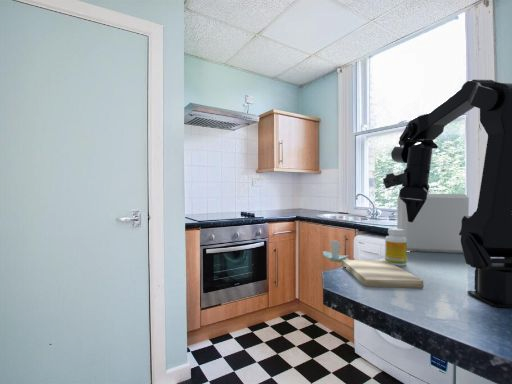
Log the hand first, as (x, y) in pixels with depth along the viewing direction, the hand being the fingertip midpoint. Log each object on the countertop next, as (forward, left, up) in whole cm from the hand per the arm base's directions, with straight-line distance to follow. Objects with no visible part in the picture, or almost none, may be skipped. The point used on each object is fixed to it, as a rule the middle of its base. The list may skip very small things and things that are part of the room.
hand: (411, 218), depth 76 cm
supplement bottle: (-3, +6, -13) cm, 14 cm away
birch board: (-14, +16, -13) cm, 24 cm away
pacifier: (0, +22, -13) cm, 25 cm away
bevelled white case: (+16, -16, -13) cm, 26 cm away
